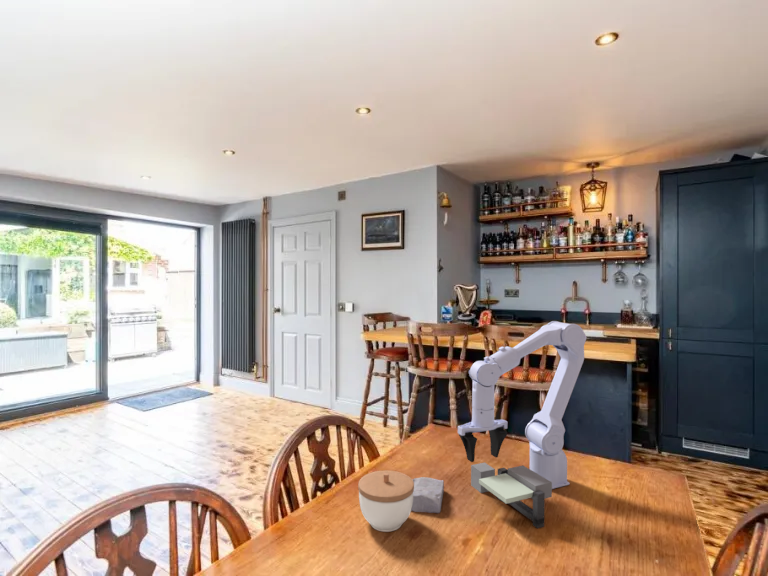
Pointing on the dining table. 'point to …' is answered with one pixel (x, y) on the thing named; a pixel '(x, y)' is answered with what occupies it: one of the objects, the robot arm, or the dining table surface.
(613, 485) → the dining table surface
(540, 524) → the frame
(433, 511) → the stone block
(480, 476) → the grey rectangular block
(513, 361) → the robot arm
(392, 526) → the lidded bowl
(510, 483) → the trapdoor
